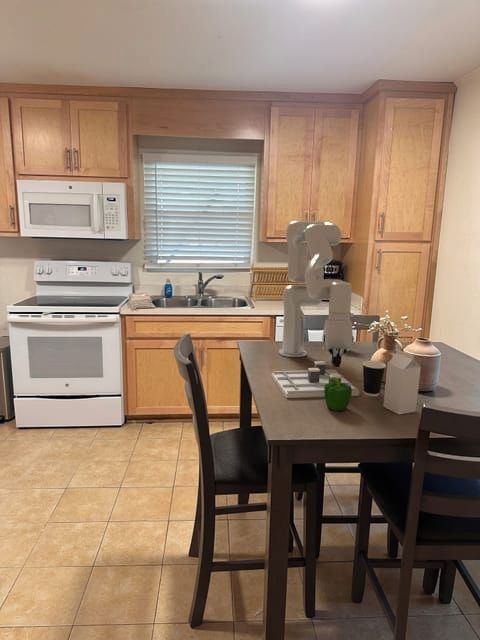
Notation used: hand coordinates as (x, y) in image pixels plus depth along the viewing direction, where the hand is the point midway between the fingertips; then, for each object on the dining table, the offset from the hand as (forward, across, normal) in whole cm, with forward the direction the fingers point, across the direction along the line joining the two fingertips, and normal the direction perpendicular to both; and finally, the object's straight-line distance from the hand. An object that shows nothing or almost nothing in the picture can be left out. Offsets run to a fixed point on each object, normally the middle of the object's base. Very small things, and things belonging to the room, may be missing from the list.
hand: (336, 366), depth 164 cm
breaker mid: (+6, +8, -1) cm, 10 cm away
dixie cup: (+8, -10, +9) cm, 16 cm away
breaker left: (+5, +3, -9) cm, 11 cm away
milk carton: (+8, -13, +23) cm, 28 cm away
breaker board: (+7, +8, -1) cm, 11 cm away
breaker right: (+6, +3, +7) cm, 10 cm away
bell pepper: (+8, +7, +20) cm, 23 cm away
